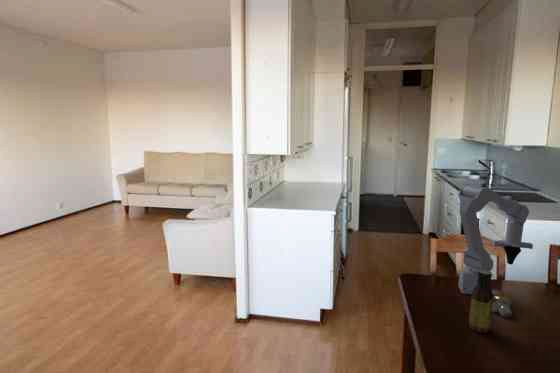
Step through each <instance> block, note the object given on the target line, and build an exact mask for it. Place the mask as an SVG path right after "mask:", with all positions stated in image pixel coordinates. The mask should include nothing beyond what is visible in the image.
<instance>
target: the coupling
mask: <svg viewBox="0 0 560 373" xmlns="http://www.w3.org/2000/svg"><path fill="white" fill-rule="evenodd" d="M494 297H495V299H496V300H504V301H507V302H508V304H509V308H510V309H511V307H512V300H511V297H510V296H504V295H501V296H495V295H494Z"/></svg>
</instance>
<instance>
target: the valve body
mask: <svg viewBox="0 0 560 373" xmlns="http://www.w3.org/2000/svg"><path fill="white" fill-rule="evenodd" d="M492 293H493V306H492V313H499V314H500V315H501V317H502V318H509V317H511V316H512V313H513V311H512V310H511V307H510V308H509V304H508V302H507V301H504V300H496V299H495V297H494V295H495V296H502V292H501V291H500V290H496V289H492Z"/></svg>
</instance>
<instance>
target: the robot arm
mask: <svg viewBox="0 0 560 373" xmlns="http://www.w3.org/2000/svg"><path fill="white" fill-rule="evenodd" d="M457 195H458V198H459V214H460V215H459V216H460V218H461V224H462V228H463V232H464V237H465V242H466V248H465V249H464V250H463V260H462V261H463V263H464V265H465V268H464V267H463V268H460V269H459V270H460V271H459V276H458V284H457V285H458V288H459V290H460V291H461V293H462V294H467V295H468V294H469V295H472V292H473V288H474V287H475V286H476V285H477V281H478V270H487V271H490V272H491V271H492V270H493V268H494V260H493V258H491V254H490V253H489V252H488V251H487V250H486V249H485V248H484V244H483V239H482V234H481V230H480V229H481V228H480V225H479V224H480V223H479V219H478V216H477V214H478V213H479V212H481V211H483V209H484V208H485V207H486V206H487V205H488V204H489V202H492V203H493V204H496V205H495V206H496V208H497V209H498V210H500V211H502V212H503V213H505V215H506V216H507V223H506V231H505V236H504V240H503V239H502V240H501V239H500V240H492V246H493V247H502V248H503V249H504V252H505V257H506V263H507V264H508V265H513V264H514V262H515V260H516V258H517V257H518V256H519V254H521V252H522V249H529V250H531V249H532V250H533V248H534V247H533V246H534V244H533V243H531V242H524V241H522V238H523V231H524V224H525V223H526V221H527V218H528V217H529V215H530V210H529V208H528V206H527V205H525V204H521V203H519V202H520V201H518V200H514V199H513V197H512V196H510V195H506V196H505V195H504V196H501V195H500V194H498V193H497V192H495V191H494V189H490V188H489V187H484V186H483V187H482V186H478V185H472V184H470V183H465V184H463V185H462V186H461V188H459V191H458V193H457Z"/></svg>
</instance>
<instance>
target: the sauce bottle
mask: <svg viewBox="0 0 560 373" xmlns="http://www.w3.org/2000/svg"><path fill="white" fill-rule="evenodd" d="M492 277H493V273H492V272H491V271H487V270H478V281H477V285H476V286H475V287H474V288H473V292H472V294H471V299H470V301H471V302H470V308H469V309H470V310H469V320H468V322H469V323H468V326H469V328H470V329H471V330H473V331H474V332H477V333H482V334H486V333H488V332H489V331H490V328H491V323H492V322H491V321H492V315H493V314H492V313H493V312H492V306H493V293H492V290H493V288H492V286H491V280H492Z"/></svg>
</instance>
